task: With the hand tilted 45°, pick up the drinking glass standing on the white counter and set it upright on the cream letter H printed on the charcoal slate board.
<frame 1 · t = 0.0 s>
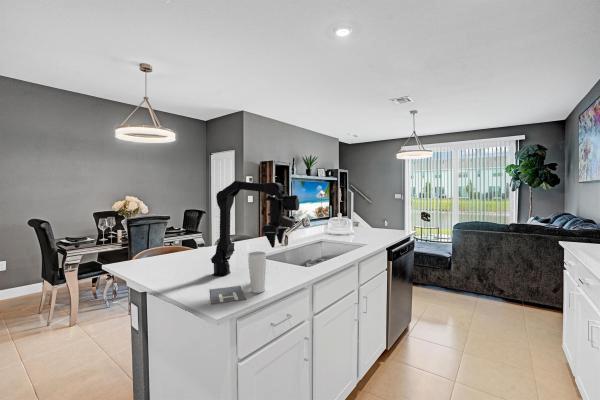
hand: (276, 245, 132), 15 cm above the counter, tool pointing down, fingers open, 9 cm apart
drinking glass: (258, 291, 115), on the counter
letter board: (227, 294, 112), on the counter
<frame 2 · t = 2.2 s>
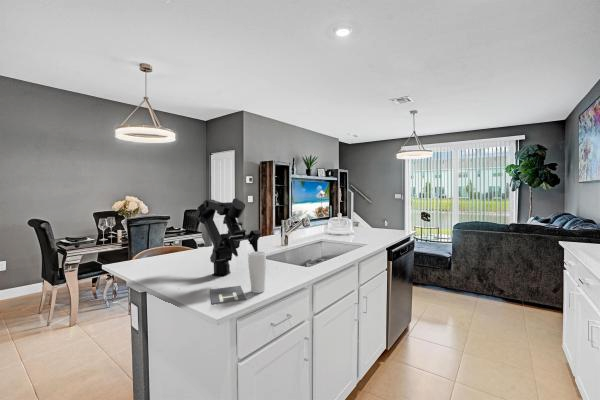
hand: (247, 254, 121), 13 cm above the counter, tool tilted 45°, fingers open, 9 cm apart
nothing on the counter moved.
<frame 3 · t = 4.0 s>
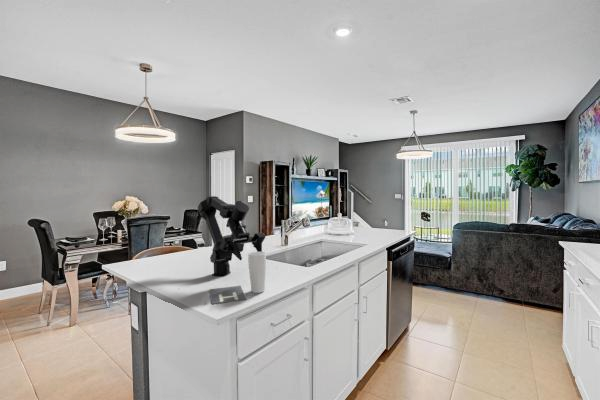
hand: (251, 257, 118), 13 cm above the counter, tool tilted 45°, fingers open, 9 cm apart
nothing on the counter moved.
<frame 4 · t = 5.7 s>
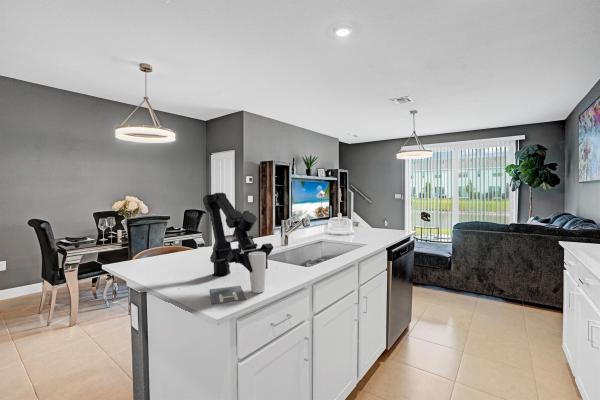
hand: (259, 270, 114), 9 cm above the counter, tool tilted 45°, fingers closed on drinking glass, 6 cm apart
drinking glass: (258, 291, 115), on the counter, touching gripper
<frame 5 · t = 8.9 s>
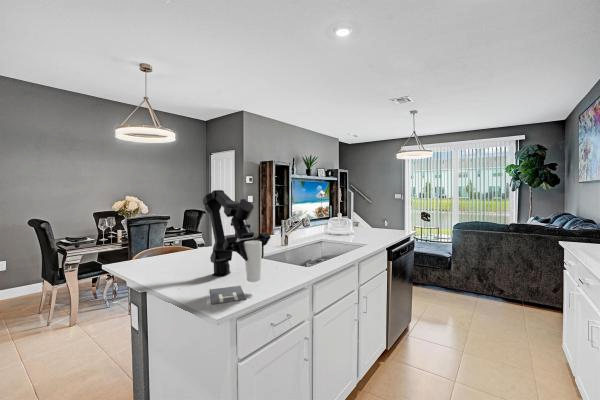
hand: (254, 259, 113), 13 cm above the counter, tool tilted 45°, fingers closed on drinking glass, 6 cm apart
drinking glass: (253, 280, 114), point 4 cm above the counter, touching gripper
when the fingers open (10 cm above the counter, at t = 11.6 s): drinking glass stays where it is, resting on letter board.
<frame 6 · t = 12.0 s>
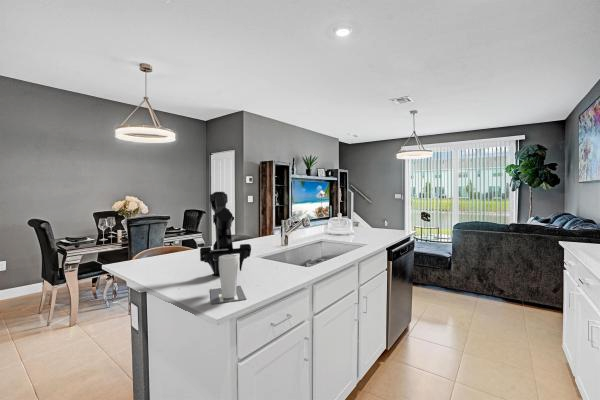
hand: (227, 271, 107), 10 cm above the counter, tool tilted 45°, fingers open, 9 cm apart
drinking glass: (229, 297, 109), resting on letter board
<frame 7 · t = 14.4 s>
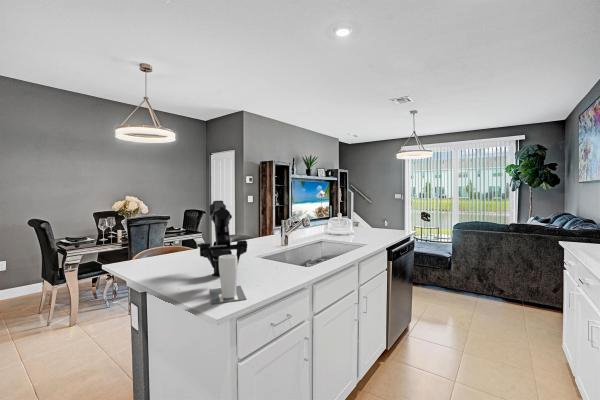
hand: (225, 266, 115), 10 cm above the counter, tool tilted 45°, fingers open, 9 cm apart
nothing on the counter moved.
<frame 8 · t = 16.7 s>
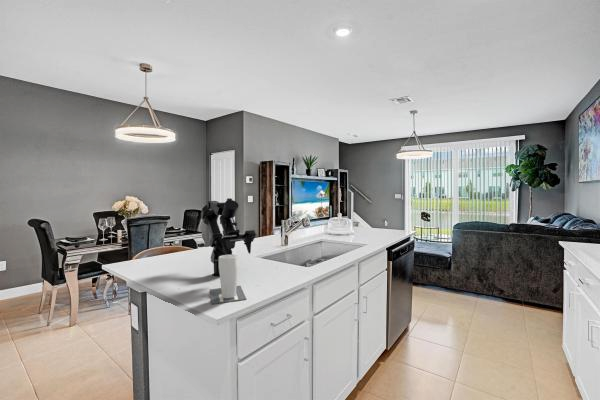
hand: (239, 254, 119), 14 cm above the counter, tool tilted 45°, fingers open, 9 cm apart
nothing on the counter moved.
at the end: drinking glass 0.4 cm from the target spot on the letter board, point 0.1 cm above the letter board's base; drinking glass tilted 0°; the gripper is holding nothing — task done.
